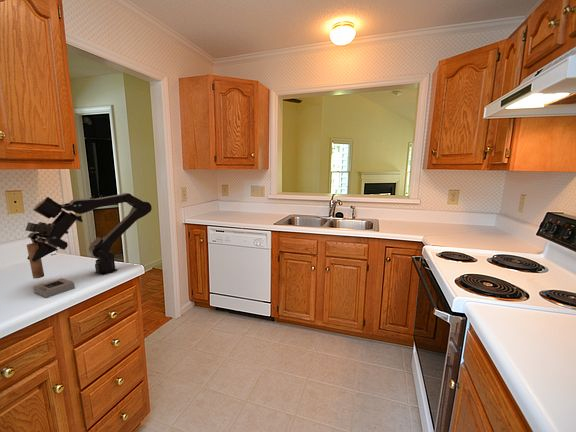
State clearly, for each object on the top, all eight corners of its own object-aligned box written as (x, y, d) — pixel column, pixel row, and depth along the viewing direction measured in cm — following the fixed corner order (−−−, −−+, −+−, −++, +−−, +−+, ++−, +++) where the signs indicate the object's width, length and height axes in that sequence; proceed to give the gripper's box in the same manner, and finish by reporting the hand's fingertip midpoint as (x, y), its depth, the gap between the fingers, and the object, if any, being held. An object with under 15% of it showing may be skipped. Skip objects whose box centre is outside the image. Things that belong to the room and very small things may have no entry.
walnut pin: (42, 274, 106) (35, 242, 104) (45, 276, 105) (39, 243, 103) (31, 277, 104) (24, 244, 101) (35, 279, 102) (28, 245, 100)
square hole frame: (62, 284, 110) (61, 278, 110) (74, 288, 106) (74, 282, 106) (34, 293, 102) (33, 286, 102) (46, 297, 98) (45, 291, 98)
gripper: (29, 212, 108) (-4, 246, 100) (52, 215, 99) (17, 253, 91) (57, 227, 116) (28, 260, 108) (80, 231, 107) (50, 267, 100)
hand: (30, 260), depth 102 cm, fingers closed on walnut pin, 3 cm apart
